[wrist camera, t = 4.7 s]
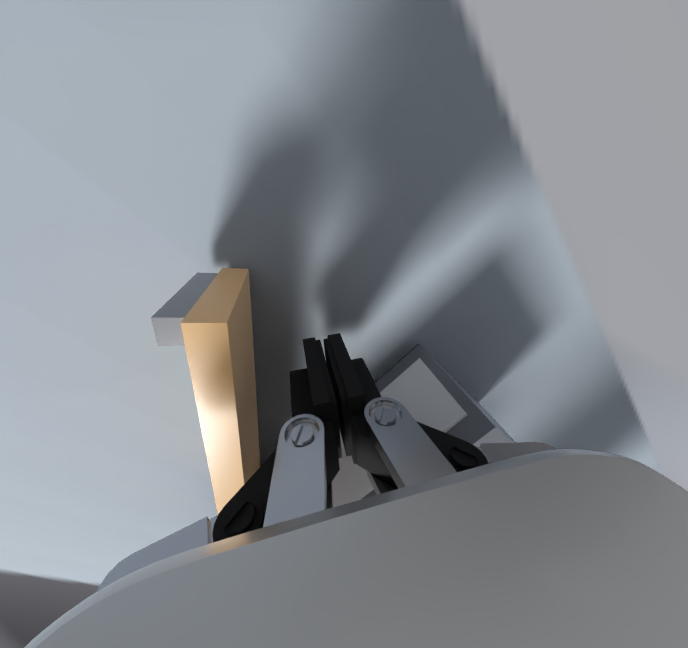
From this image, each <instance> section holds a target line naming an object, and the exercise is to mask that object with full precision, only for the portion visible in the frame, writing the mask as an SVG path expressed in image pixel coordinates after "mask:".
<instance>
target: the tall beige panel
mask: <svg viewBox="0 0 688 648" xmlns="http://www.w3.org/2000/svg"><path fill="white" fill-rule="evenodd" d="M151 319H152V323H153V327H154V331H155V335H156V339H157V343H158V346H171V345H185V349H186V354H187V359H188V364H189V369H190V374H191V380H192V385H193V390H194V395H195V400H196V405H197V410H198V415H199V420H200V426H201V431H202V436H203V441H204V446H205V451H206V456H207V461H208V466H209V471H210V477H211V482H212V487H213V492H214V497H215V502H216V507H217V512H218V514H219V513H220V511H221V510H222V509H223V507H224V506H225V505H226V504H227V503H228V502H229V500H230V499H231V498H232V497H233V496H234V495H235V494H236V493H237V492H238V491H239V490H240V488H241V487H242V486H243V485H244V484H245V483H246V482H247V481H248V480H249V479H250V478H251V476H252V475H253V474H254V473H255V472H256V471H257V470H258V469H259V468H260V467H261V466H260V449H259V432H258V415H257V398H256V381H255V363H254V346H253V329H252V312H251V295H250V278H249V269H240V268H222V269H221V270H220V272H219V273H197V274H196V275H195V276H193V277H192V278H191V279H190V280H189V281H188V282H187V283H186V284H185V285H184V286H183V287H182V288H181V289H180V290H179V291H178V292H177V293H176V294H175V295H174V296H173V297H172V298H171V299H170V300H169V301H168V302H167V303H166V304H165V305H164V306H163V307H162V308H160V309H159V310H158V311H157V312H156V313H155V314H154V315H153V316H152V317H151Z"/></svg>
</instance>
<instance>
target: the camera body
mask: <svg viewBox="0 0 688 648" xmlns="http://www.w3.org/2000/svg"><path fill="white" fill-rule="evenodd" d="M375 385H376V387H377V389H378V391H379V393H380V395H381V397H389V398H393V399H395V400H397V401H399V402H400V403H401V404H402V405H403V406H404V407H405V408H406V409H407V410H408V412H409V413H410V414H411V415H412V417H413V418H414V419H415V420H416V421H417V422H420V423H422V424H425V425H427V426H430V427H432V428H435V429H437V430H440V431H442V432H445V433H447V434H450V435H452V436H454V437H457V438H459V439H462V440H464V441H467V442H469V443H471V444H473V445H474V446H476V447H480V444H481V443H516V442H515V441H514V440H513V439H512V438H511V437H510V436H509V435H508V433H507V432H506V431H505V430H504V429H503V428H502V427H501V426H500V425H499V424H498V423H497V422H496V421H495V420H494V419H493V418H492V417H491V415H490V414H489V413H488V412H487V411H486V410H485V409H484V408H483V407H482V406H481V405H480V404H479V403H478V402H477V401H476V400H475V399H474V398H473V397H472V396H471V395H470V394H469V393H468V392H467V391H466V390H465V389H464V388H463V387H462V386H461V385H460V384H459V383H458V382H457V381H456V380H455V379H454V378H453V377H452V376H451V375H450V374H449V373H448V372H447V371H446V370H445V369H444V368H443V367H442V366H441V365H440V364H439V363H438V362H437V361H436V360H435V359H434V358H433V357H432V356H431V355H430V354H429V353H428V352H427V351H426V350H425V349H424V348H423V347H422V346H421V345H420V344H418V345H417V346H416V347H415V348H414V349H413V350H412V351H411V352H409V353H408V354H407V355H406V356H405V357H404V358H403V359H402V360H400V361H399V362H398V363H397V364H396V365H395V366H394V367H393V368H391V369H390V370H389V371H388V372H387V373H386V374H385V375H384V376H382V377H381V378H380V379H379V380H378V381H377V382H376V383H375ZM340 439H341V448H342V458H339V466H340V470H339V472H338V473H337V475H336V476H335V478H334V480H333V481H332V485H333V507H336V506H340V505H343V504H347V503H350V502H354V501H357V500H361V499H364V498H368V497H371V496H375V495H376V493H375V491H374V488H373V486H372V484H371V482H370V480H369V478H368V475H367V472H366V470H365V469H363V468H362V467H360V466H358V465H357V464H354V463H353V459H352V455H351V456H346V453H345V449H344V445H343V441H342V437H341V433H340Z"/></svg>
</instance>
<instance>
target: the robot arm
mask: <svg viewBox="0 0 688 648" xmlns="http://www.w3.org/2000/svg"><path fill="white" fill-rule="evenodd" d="M303 345H304V351H305V357H306V364H307V368H306V369H300V370H295V371H290V388H291V406H292V418H291V419H289V420H288V421H287V422H286V423H285V424H284V425H283V427H282V428H281V431H280V434H279V439H278V445H277V449H276V450H275V451H274V452H273V454H272V455H271V456H270V457H269V458H268V459H267V460H266V461H265V462H264V463H263V464H262V466H261V467H260V468H259V469H258V470H257V471H256V472H255V473H254V474H253V475H252V476H251V478H250V479H249V480H248V481H247V482H246V483H245V484H244V485H243V486H242V487H241V488H240V490H239V491H238V492H237V493H236V494H235V495H234V496H233V497H232V498H231V499H230V500H229V502H228V503H227V504H226V505H225V506H224V507H223V509H222V510H221V511H220V513H219V514H218V515H217V516H215V517H213V518H211V519H208V517H205V518H203V519H201V520H199V521H197V522H195V523H193V524H191V525H189V526H187V527H185V528H183V529H181V530H179V531H177V532H175V533H173V534H171V535H169V536H167V537H165V538H163V539H161V540H159V541H157V542H155V543H153V544H151V545H149V546H147V547H145V548H143V549H141V550H139V551H137V552H135V553H133V554H131V555H130V556H128V557H127V558H125V559H124V560H122V561H121V562H119V563H118V564H117V565H116V566H115V567H114V568H113V569H112V570H111V571H110V572H109V573H108V575H107V576H106V577H105V579H104V580H103V582H102V583H101V585H100V586H99V588H98V590H97V593H95V594H93V595H91V596H90V597H88V598H87V599H85V600H84V601H82V602H81V603H79V604H78V605H77V606H75V607H74V608H72V609H71V610H70V611H68V612H67V613H65V614H64V615H63V616H61V617H60V618H59V619H57V620H56V621H55V622H53V623H52V624H51V625H50V626H48V627H47V628H46V629H45V630H44V631H42V632H41V633H40V634H39V635H38V636H36V637H35V638H34V639H33V640H32V641H31V642H30V643H29V644H28V645H27V646H26V647H25V648H688V491H686V490H685V489H683V488H682V487H681V486H679V485H678V484H676V483H675V482H673V481H671V480H670V479H668V478H667V477H665V476H664V475H662V474H660V473H659V472H657V471H655V470H653V469H652V468H650V467H648V466H646V465H644V464H642V463H640V462H638V461H635V460H632V459H630V458H627V457H623V456H620V455H616V454H611V453H606V452H600V451H592V450H583V449H558V450H557V449H555V448H554V447H552V446H549V445H547V444H544V443H537V442H523V443H481V444H480V447H476V446H474V445H473V444H471V443H469V442H467V441H464V440H462V439H459V438H457V437H454V436H452V435H450V434H447V433H445V432H442V431H440V430H437V429H435V428H432V427H430V426H427V425H425V424H422V423H420V422H417V421H416V420H415V419H414V418H413V417H412V415H411V414H410V413H409V412H408V410H407V409H406V408H405V407H404V406H403V405H402V404H401V403H400V402H399V401H397V400H395V399H393V398H389V397H381V395H380V393H379V391H378V389H377V387H376V385H375V383H374V381H373V379H372V376H371V374H370V372H369V370H368V368H367V366H366V364H365V362H364V360H363V359H362V358H359V359H353V360H351V359H350V356H349V354H348V352H347V349H346V347H345V345H344V342H343V340H342V337H341V335H340V333H338V334H332V335H328V338H327V339H324V348H325V356H324V353H323V349H322V345H321V342H320V340H316V341H315V337H314V338H309V339H303ZM325 357H326V360H325ZM340 433H341V437H342V441H343V445H344V449H345V453H346V456H351V455H352V459H353V463H354V464H357V465H358V466H360V467H362V468H363V469H365V470H366V472H367V475H368V478H369V480H370V482H371V484H372V486H373V488H374V491H375V493H376V495H375V496H371V497H368V498H364V499H361V500H357V501H354V502H350V503H347V504H343V505H340V506H336V507H333V485H332V481H333V480H334V478H335V476H336V475H337V473H338V472H339V470H340V466H339V458H342V448H341V439H340Z"/></svg>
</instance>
